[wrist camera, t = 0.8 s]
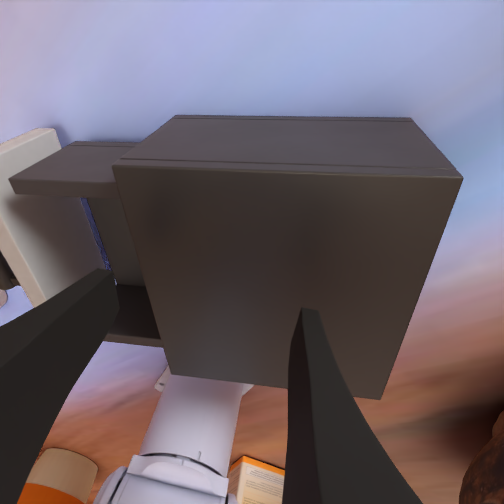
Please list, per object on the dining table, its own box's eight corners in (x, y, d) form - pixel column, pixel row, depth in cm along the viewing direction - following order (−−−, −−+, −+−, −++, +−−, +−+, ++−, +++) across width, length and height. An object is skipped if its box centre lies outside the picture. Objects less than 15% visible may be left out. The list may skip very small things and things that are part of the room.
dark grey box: (202, 292, 26) (170, 375, 20) (175, 114, 18) (109, 165, 12) (364, 306, 25) (380, 400, 19) (411, 117, 17) (465, 177, 11)
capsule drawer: (46, 281, 27) (-9, 336, 22) (-35, 126, 20) (-139, 161, 15) (240, 298, 25) (223, 363, 20) (229, 131, 18) (200, 174, 13)
